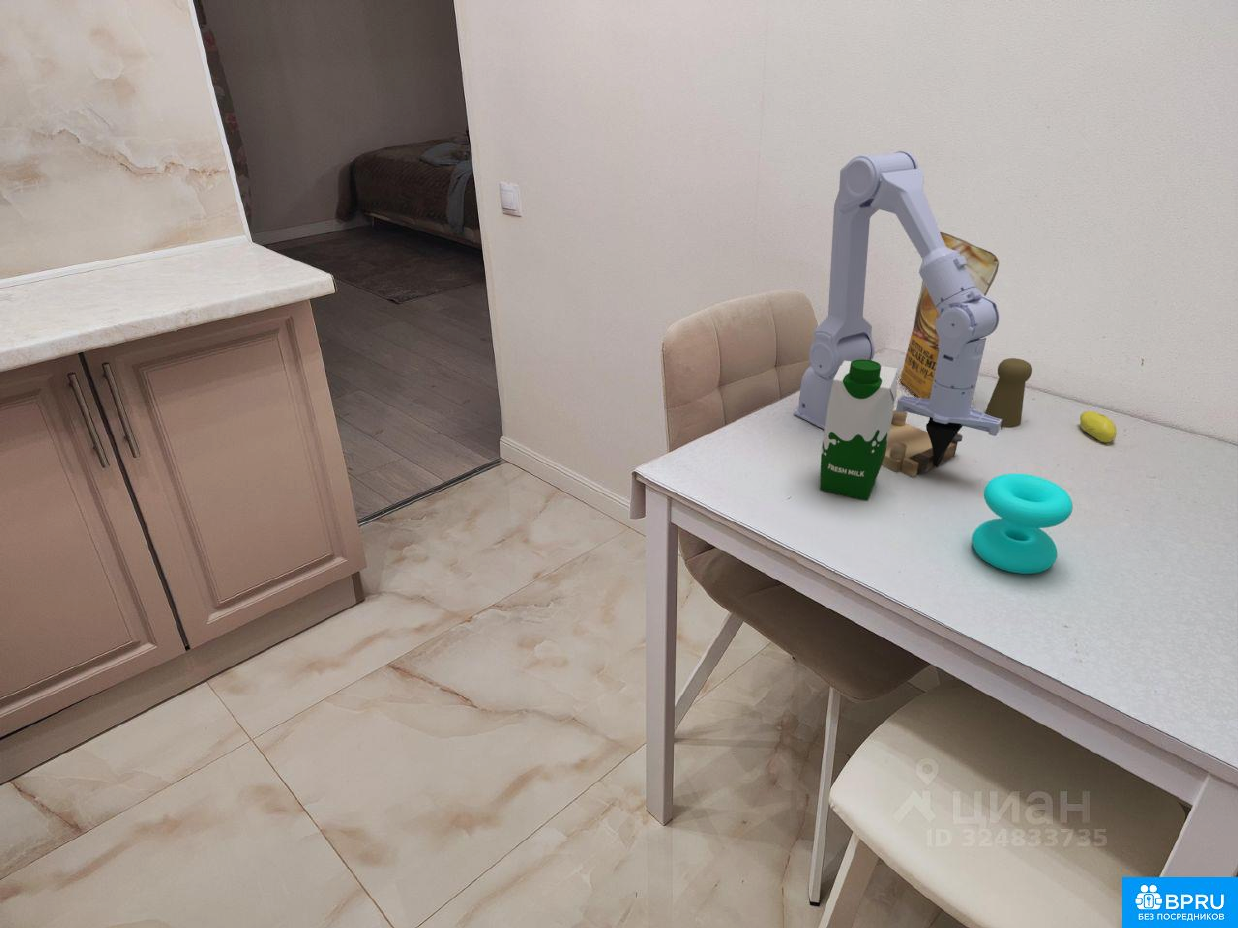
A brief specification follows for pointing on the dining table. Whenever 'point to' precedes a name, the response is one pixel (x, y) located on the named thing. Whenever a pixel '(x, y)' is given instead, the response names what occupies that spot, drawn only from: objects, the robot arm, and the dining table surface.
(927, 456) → the hinged leg
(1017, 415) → the cork
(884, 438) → the milk carton
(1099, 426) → the lemon
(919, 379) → the pancake mix bag
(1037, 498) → the donuts
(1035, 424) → the dining table surface
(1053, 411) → the dining table surface
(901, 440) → the stool seat
